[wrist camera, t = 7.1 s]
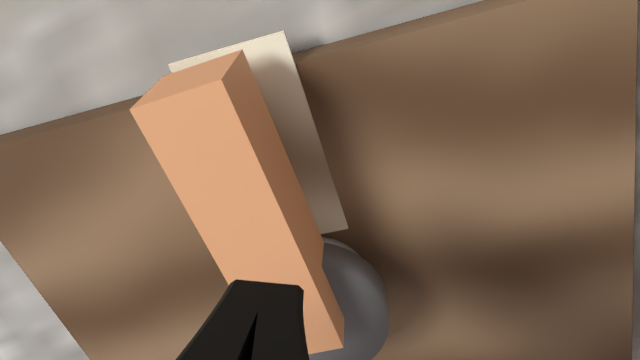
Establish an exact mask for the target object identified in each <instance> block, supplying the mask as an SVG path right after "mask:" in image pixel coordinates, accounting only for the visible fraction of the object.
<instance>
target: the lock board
mask: <svg viewBox="0 0 640 360" xmlns="http://www.w3.org/2000/svg"><path fill="white" fill-rule="evenodd" d="M637 14H638V0H484V1H480V2H477V3H473V4H470V5H466V6H462V7H459V8H455V9H452V10H448V11H445V12H441V13H437V14H434V15H430V16H427V17H423V18H419V19H416V20H412V21H409V22H405V23H401V24H398V25H394V26H391V27H387V28H383V29H380V30H376V31H373V32H369V33H366V34H362V35H358V36H355V37H351V38H348V39H344V40H340V41H337V42H333V43H330V44H326V45H322V46H319V47H315V48H312V49H308V50H305V51H301V52H297V53H294V54H292V53H291V50H290V47H289V44H288V41H287V38H286V35H285V31H284V30H283V31H280V32H276V33H273V34H269V35H266V36H262V37H259V38H255V39H252V40H248V41H245V42H242V43H238V44H235V45H231V46H228V47H224V48H221V49H217V50H214V51H210V52H207V53H204V54H200V55H197V56H193V57H190V58H186V59H183V60H179V61H176V62H173V63H169V64H168V65H169V68H170V70H171V72H172V73H174V72H177V71H180V70H183V69H186V68H189V67H192V66H194V65H197V64H200V63H203V62H206V61H209V60H212V59H215V58H218V57H221V56H224V55H227V54H230V53H233V52H236V51H239V50H242V49H243V52H244V54H245V56H246V59H247V61H248V63H249V66H250V68H251V71H252V73H253V75H254V78H255V80H256V82H257V85H258V87H259V90H260V92H261V94H262V97H263V99H264V101H265V104H266V106H267V109H268V111H269V113H270V116H271V118H272V120H273V123H274V125H275V128H276V130H277V132H278V135H279V137H280V139H281V142H282V144H283V146H284V149H285V151H286V154H287V156H288V158H289V161H290V163H291V165H292V168H293V170H294V173H295V175H296V177H297V180H298V182H299V184H300V187H301V189H302V192H303V194H304V196H305V199H306V201H307V203H308V206H309V208H310V210H311V213H312V215H313V218H314V220H315V222H316V225H317V227H318V229H319V232H320V234H321V237H322V239H323V241H324V243H329V244H334V245H337V246H340V247H343V248H346V249H348V250H350V251H352V252H354V253H356V254H357V255H359V256H361V257H362V258H364V259H365V260H366V261H367V262H368V263H369V264H371V265H372V267H373V268H374V269H375V270H376V271H377V273H378V274H379V276H380V277H381V279H382V281H383V283H384V286H385V289H386V295H387V307H388V322H389V328H388V335H387V338H386V341H385V343H384V345H383V347H382V348H381V350H380V351H379V353H378V354H377V355H376V356H375V357H374V358H373V359H371V360H632V309H633V250H634V191H635V132H636V73H637ZM143 96H144V95H143ZM143 96H139V97H136V98H132V99H129V100H125V101H121V102H118V103H114V104H111V105H107V106H104V107H100V108H96V109H93V110H89V111H86V112H82V113H78V114H75V115H71V116H68V117H64V118H60V119H57V120H53V121H50V122H46V123H43V124H39V125H35V126H32V127H28V128H25V129H21V130H17V131H14V132H10V133H7V134H3V135H0V241H1V242H2V244H3V245H4V246H5V248H6V249H7V250H8V251H9V253H10V254H11V255H12V257H13V258H14V259H15V261H16V262H17V263H18V265H19V266H20V267H21V269H22V270H23V271H24V273H25V274H26V275H27V277H28V278H29V279H30V281H31V282H32V283H33V285H34V286H35V287H36V289H37V290H38V291H39V293H40V294H41V295H42V297H43V298H44V299H45V301H46V302H47V303H48V304H49V306H50V307H51V308H52V310H53V311H54V312H55V314H56V315H57V316H58V318H59V319H60V320H61V322H62V323H63V324H64V326H65V327H66V328H67V330H68V331H69V332H70V334H71V335H72V336H73V338H74V339H75V340H76V342H77V343H78V344H79V346H80V347H81V348H82V350H83V351H84V352H85V354H86V355H87V356H88V358H89V359H90V360H176V358H177V357H178V356H179V355H180V353H181V352H182V351H183V349H184V348H185V347H186V346H187V344H188V343H189V342H190V341H191V339H192V338H193V337H194V336H195V334H196V333H197V332H198V330H199V329H200V327H201V326H202V325H203V323H204V322H205V321H206V319H207V318H208V316H209V315H210V314H211V312H212V311H213V309H214V308H215V306H216V305H217V303H218V302H219V300H220V299H221V297H222V296H223V294H224V293H225V291H226V289H227V288H228V286H229V285H228V283H227V281H226V279H225V278H224V276H223V274H222V272H221V271H220V269H219V267H218V265H217V264H216V262H215V260H214V258H213V257H212V255H211V253H210V251H209V249H208V248H207V246H206V244H205V242H204V241H203V239H202V237H201V235H200V234H199V232H198V230H197V228H196V227H195V225H194V223H193V221H192V219H191V218H190V216H189V214H188V212H187V211H186V209H185V207H184V205H183V204H182V202H181V200H180V198H179V196H178V195H177V193H176V191H175V189H174V188H173V186H172V184H171V182H170V181H169V179H168V177H167V175H166V174H165V172H164V170H163V168H162V166H161V165H160V163H159V161H158V159H157V158H156V156H155V154H154V152H153V151H152V149H151V147H150V145H149V144H148V142H147V140H146V138H145V136H144V135H143V133H142V131H141V129H140V128H139V126H138V124H137V122H136V121H135V119H134V117H133V115H132V114H131V112H130V110H129V109H130V108H131V107H132V106H133V105H134V104H135V103H136V102H137V101H138V100H139V99H141V98H142V97H143Z"/></svg>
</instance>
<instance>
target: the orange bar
mask: <svg viewBox="0 0 640 360" xmlns="http://www.w3.org/2000/svg"><path fill="white" fill-rule="evenodd" d="M129 110H130V112H131V114H132V115H133V117H134V119H135V121H136V122H137V124H138V126H139V128H140V129H141V131H142V133H143V135H144V136H145V138H146V140H147V142H148V144H149V145H150V147H151V149H152V151H153V152H154V154H155V156H156V158H157V159H158V161H159V163H160V165H161V166H162V168H163V170H164V172H165V174H166V175H167V177H168V179H169V181H170V182H171V184H172V186H173V188H174V189H175V191H176V193H177V195H178V196H179V198H180V200H181V202H182V204H183V205H184V207H185V209H186V211H187V212H188V214H189V216H190V218H191V219H192V221H193V223H194V225H195V227H196V228H197V230H198V232H199V234H200V235H201V237H202V239H203V241H204V242H205V244H206V246H207V248H208V249H209V251H210V253H211V255H212V257H213V258H214V260H215V262H216V264H217V265H218V267H219V269H220V271H221V272H222V274H223V276H224V278H225V279H226V281H227V283H228V285H229V284H230V283H231V282H233V281H234V280H236V279H238V280H248V281H259V282H270V283H280V284H291V285H299V286H300V287H301V288H302V289H303V290H304V299H303V317H304V328H305V335H306V343H307V349H308V354H309V360H371V359H373V358H374V357H375V356H376V355H377V354H378V353H379V351H380V350H381V348H382V347H383V345H384V343H385V341H386V338H387V335H388V328H389V322H388V307H387V295H386V289H385V286H384V283H383V281H382V279H381V277H380V276H379V274H378V273H377V271H376V270H375V269H374V268H373V267H372V265H371V264H369V263H368V262H367V261H366V260H365V259H364V258H362V257H361V256H359V255H357V254H356V253H354V252H352V251H350V250H348V249H346V248H343V247H340V246H337V245H334V244H329V243H324V241H323V239H322V237H321V234H320V232H319V229H318V227H317V225H316V222H315V220H314V218H313V215H312V213H311V210H310V208H309V206H308V203H307V201H306V199H305V196H304V194H303V192H302V189H301V187H300V184H299V182H298V180H297V177H296V175H295V173H294V170H293V168H292V165H291V163H290V161H289V158H288V156H287V154H286V151H285V149H284V146H283V144H282V142H281V139H280V137H279V135H278V132H277V130H276V128H275V125H274V123H273V120H272V118H271V116H270V113H269V111H268V109H267V106H266V104H265V101H264V99H263V97H262V94H261V92H260V90H259V87H258V85H257V82H256V80H255V78H254V75H253V73H252V71H251V68H250V66H249V63H248V61H247V59H246V56H245V54H244V52H243V49H242V50H239V51H236V52H233V53H230V54H227V55H224V56H221V57H218V58H215V59H212V60H209V61H206V62H203V63H200V64H197V65H194V66H192V67H189V68H186V69H183V70H180V71H177V72H174V73H171V74H168V75H165V76H163V77H162V78H161V79H160V80H159V81H158V82H157V83H156V84H155V85H154V86H153V87H152V88H151V89H150V90H149V91H148V92H147V93H146V94H145V95H144V96H143V97H142V98H141V99H139V100H138V101H137V102H136V103H135V104H134V105H133V106H132V107H131V108H130V109H129Z"/></svg>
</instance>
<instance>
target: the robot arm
mask: <svg viewBox="0 0 640 360" xmlns="http://www.w3.org/2000/svg"><path fill="white" fill-rule="evenodd" d="M303 299H304V290H303V289H302V288H301V287H300V286H299V285H291V284H280V283H270V282H259V281H248V280H238V279H236V280H234V281H233V282H231V283H230V284H229V286H228V288H227V289H226V291H225V293H224V294H223V296H222V297H221V299H220V300H219V302H218V303H217V305H216V306H215V308H214V309H213V311H212V312H211V314H210V315H209V316H208V318H207V319H206V321H205V322H204V323H203V325H202V326H201V327H200V329H199V330H198V332H197V333H196V334H195V336H194V337H193V338H192V339H191V341H190V342H189V343H188V344H187V346H186V347H185V348H184V349H183V351H182V352H181V353H180V355H179V356H178V357H177V358H176V360H309V354H308V349H307V343H306V335H305V328H304V317H303Z"/></svg>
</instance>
